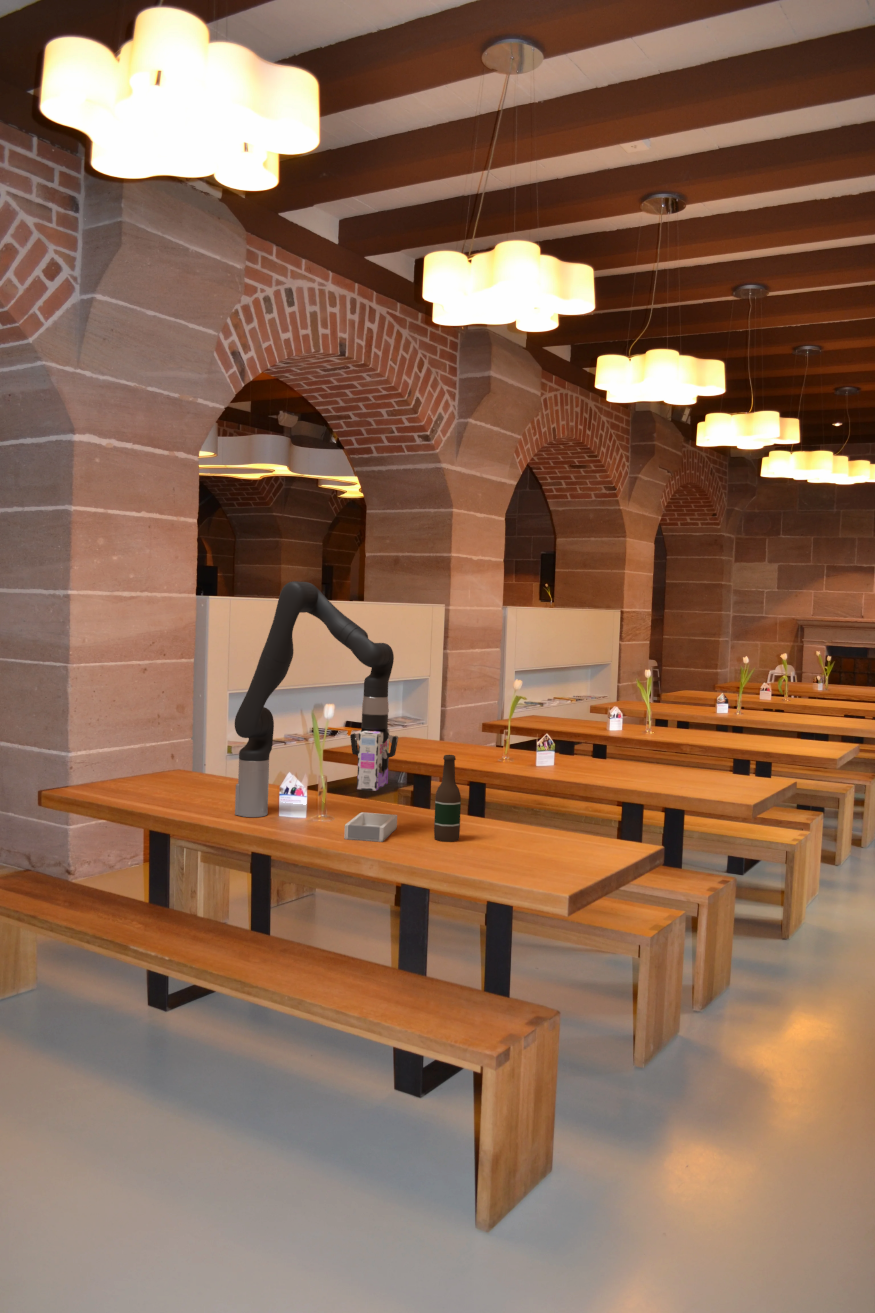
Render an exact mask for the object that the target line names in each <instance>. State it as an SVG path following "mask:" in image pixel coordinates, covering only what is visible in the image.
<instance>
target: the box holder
mask: <svg viewBox="0 0 875 1313" xmlns="http://www.w3.org/2000/svg"><path fill="white" fill-rule="evenodd" d="M397 827H398V814H390V813H389V814H388V813H374V812H360V813H358V814H357V815H355V816H354V817H353V818H352V819H350V821H348V822H346V823H345V825H344V836H343V837H344V838H343V839H344V840H349V841H350V840H351V841H363V842H379V843H384V842H385V840H386V839H388V838H389V836H390V835H392V833H393V832H395V831H396V830H397Z"/></svg>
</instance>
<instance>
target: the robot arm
mask: <svg viewBox="0 0 875 1313" xmlns="http://www.w3.org/2000/svg"><path fill="white" fill-rule="evenodd" d="M300 613H301V614H302V613H303V614H305V613H307V614H309V615H311V616H313V617H315V618H317V619H318V620H319V621H321V622H322V623H323V624H324V625H325V627H326V628H327V630H328V631H329V633H330V634H331V635H332V637H334V639H336V641H338V642H339V643H341V645H343V646H345V647H346V648H347V649H348V650H350V651H351V652H352V654H353V655H354V656H355V658H356V659H357V660H358V661H359V662H360V663H361V664H363V665H364V666H366V667H368V668H371V669H370V672H369V673H370V674H369V675H368V676H366V677H365V678H364V682H363V698H362V706H361V730H360V732H363V731H366V730H376V731H382V732H383V744H384V743H385V742H386V741H387V739H388V738H389V744H390V743H391V744H390V748H389V753H388V751H387V748H386V745H385V747H383V746H382V751H383V753H382V755H383V759H382V772H385V771H386V770H387V769H388V770H389V760H390V759H389V758H393V757H395V755H396V751H397V747H398V741H399V736H398V735H391V734H390V732H389V733H388V729H389V728H388V726H389V711H390V710H389V681H390V679H391V674H392V670H393V666H394V662H395V661H394V658H395V656H394V651H393V649H392V647H391V646H390V645H389V644H388V643H384V642H375V641H372V640H370V638H369V635H368V633H367V631H366V630H364V629H363V628H362V627H361V626H359V625H358V624H357V623H356V622H354V621H353V620H351V619H350V618H349V617H347V616H346V615H345V614H344V613H343V612H342V611H340V610H339V609H338V607H336V606H335V605H334V604H333V603H332V602H331V601H330V600H329V599H328V598H327V597H326V596H325V594H323V592H321V590H320V589H319V588H318V587H317V586H315V584H313V583H311V582H308V581H296V580H295V581H294V580H293V581H289V582H288V583H286V584H285V585H283V587H282V589H281V591H280V594H279V597H278V601H277V605H276V609H275V612H274V617H273V620H272V623H271V626H270V629H269V632H268V635H267V638H266V642H265V643H264V646H263V648H262V651H261V654H260V656H259V660H258V662H257V665H256V669H255V671H254V673H253V677H252V678H251V679H252V680H251V681H250V684H249V687H248V689H247V692H246V694H245V696H244V698H243V700H242V702H241V703H240V705H239V708H238V710H237V713H236V715H235V719H234V730H235V733H236V734H237V735H238V736H239V737H241V738H243V739H248V740H247V742H246V744H245V745H244V746H243V747H242V748H241V749H240V750H239V752H238V778H237V783H236V784H235V795H234V796H235V797H234V798H235V800H234V815H235V816H239V817H244V818H246V817H247V818H261V817H266V816H268V810H269V779H270V754H271V752H272V750H273V741H274V731H275V730H274V728H275V721H274V720H275V719H274V716H273V713H272V711H271V710H270V709H269V708H267V707H265V706H266V703H267V701H268V699H269V698H270V696H271V695H272V694H273V692H274V691H275V690H276V689H277V688H278V687H279V685H280V684H281V683H282V682H283V680H284V679H285V678H286V676H287V674H288V671H289V669H290V666H291V663H292V661H293V658H294V640H293V639H294V638H293V631H294V628H295V625H296V622H297V619H298V617H299V615H300ZM358 742H359V733H355V732H353V733H351V734H350V745H351V746H350V747H351V753H352V755H355V756H357V757H358V745H359V744H358ZM388 759H389V760H388Z"/></svg>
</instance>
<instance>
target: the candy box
mask: <svg viewBox="0 0 875 1313" xmlns="http://www.w3.org/2000/svg"><path fill="white" fill-rule="evenodd" d="M388 733H389V734H390V729H389V728H388ZM357 745H358V756H357V778H356V779H357V780H356V781H357V782H356V789H357V790H361V791H375V792H376V791H378V790H380V789H381V788H383V787H385V786H386V785H388V783H389V768H388V769H387V770H386V771H385V772H382V759H383V755H382V753H383V751H382V746H383V747H385V745H386V748H387V751H388V753H390V740H389V738H388V739H387V741H386V742H385V743H384V744H383V732H382V731H376V730H366V731H363V732H361V731H359V740H358V744H357ZM389 760H390V759H388V761H389Z"/></svg>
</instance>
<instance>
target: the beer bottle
mask: <svg viewBox="0 0 875 1313" xmlns="http://www.w3.org/2000/svg"><path fill="white" fill-rule="evenodd" d="M456 758H457V757H456V755H453V754H444V755H443V769H442V770H443V771H442V780H441V782H440V785H439V786H438V787H437V790H436V792H435V799H434V824H433V826H434V827H433V834H434V835H433V837H434V840H435V841H439V842H442V843H443V842H446V843H453V842H457V841H459V840H460V833H461V832H460V831H461V808H462V807H461V805H462V804H461V803H462V802H461V800H462V798H461V792H460V788H459V787H458V785H457V783H456V773H455V772H456V763H455V761H456V760H457V759H456Z"/></svg>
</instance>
